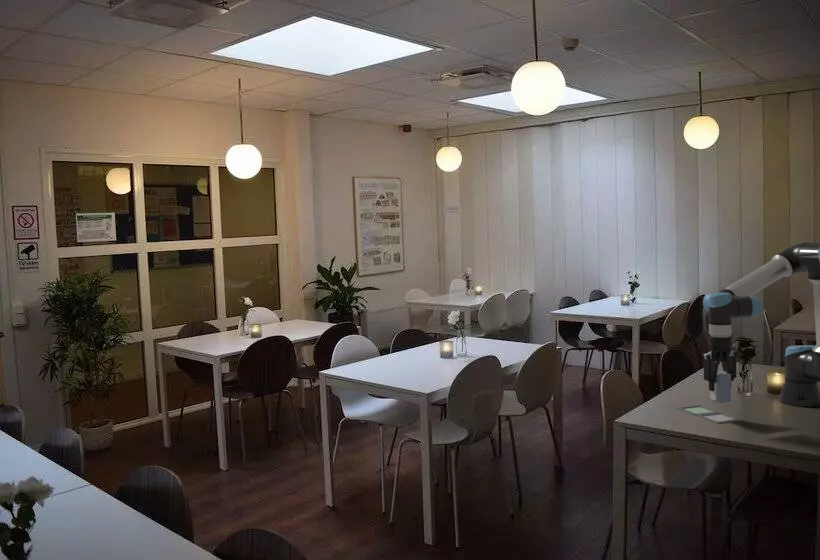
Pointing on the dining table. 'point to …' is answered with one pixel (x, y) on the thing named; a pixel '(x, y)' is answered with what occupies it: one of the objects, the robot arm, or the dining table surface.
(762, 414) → the dining table surface
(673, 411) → the dining table surface
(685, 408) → the dock
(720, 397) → the blue rectangular block
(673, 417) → the dining table surface
